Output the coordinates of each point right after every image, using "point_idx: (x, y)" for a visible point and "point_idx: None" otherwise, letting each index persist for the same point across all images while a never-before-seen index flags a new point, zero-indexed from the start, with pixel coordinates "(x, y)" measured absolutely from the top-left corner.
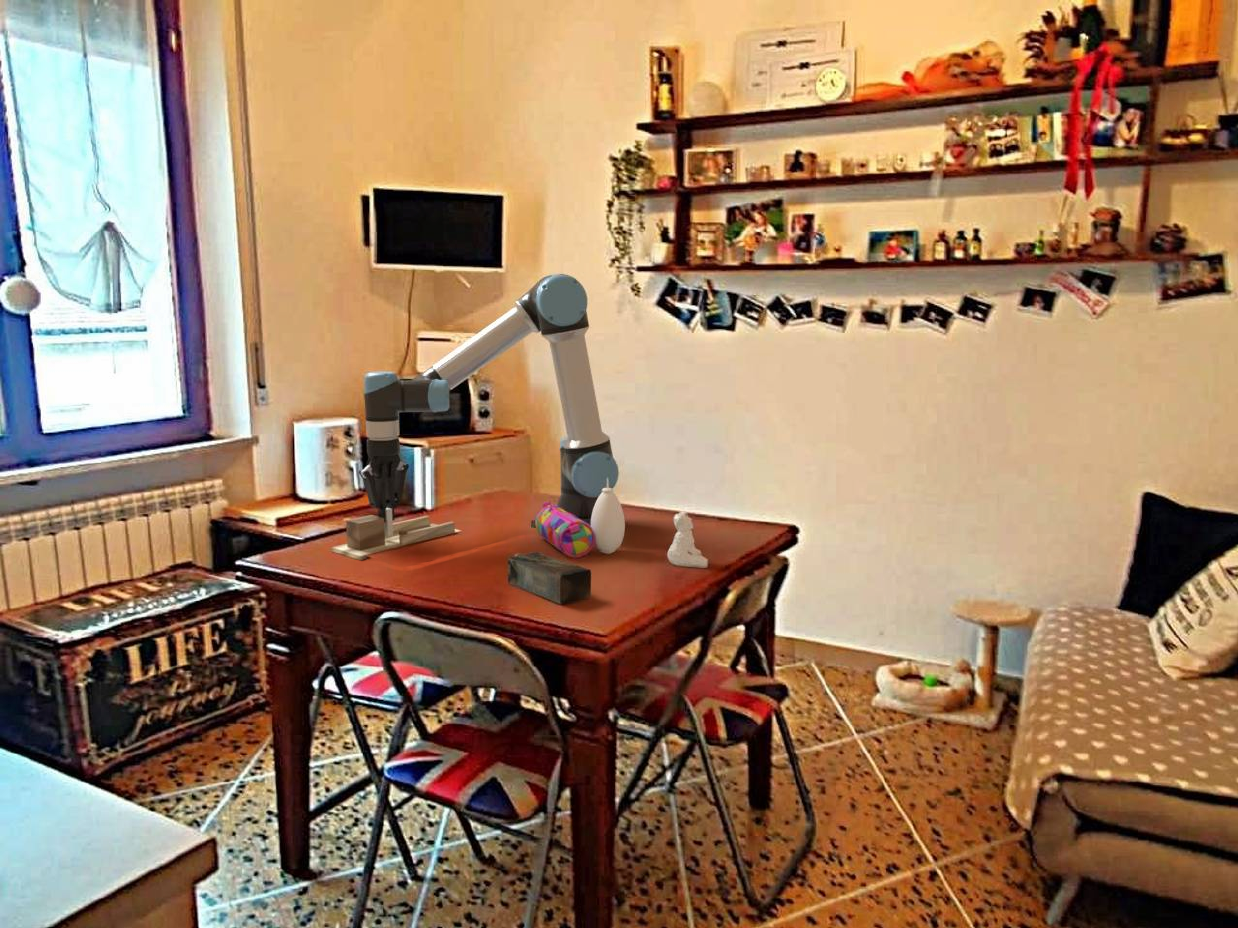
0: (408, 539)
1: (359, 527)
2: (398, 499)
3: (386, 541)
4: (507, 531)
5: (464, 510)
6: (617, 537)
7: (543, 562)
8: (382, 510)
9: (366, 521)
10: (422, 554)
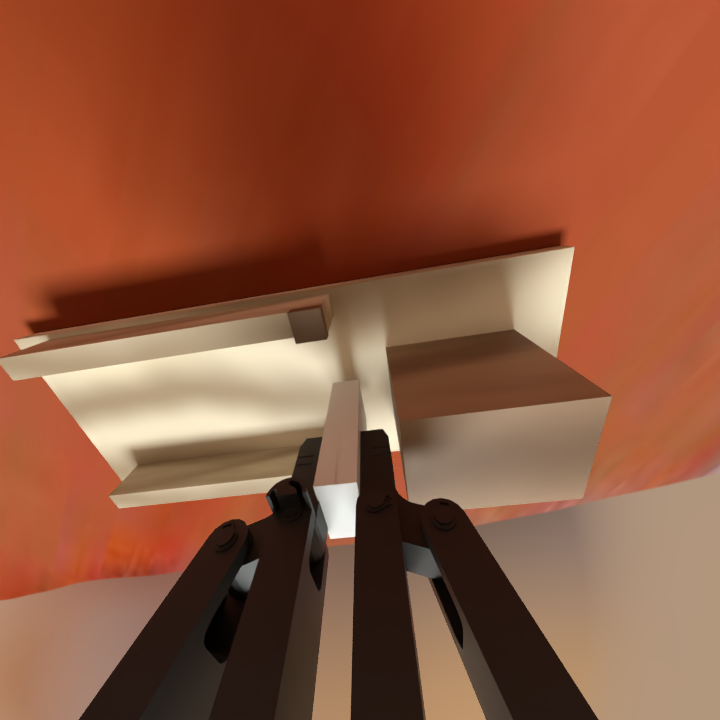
0: (291, 304)
1: (585, 381)
2: (225, 558)
3: None
4: None
5: (5, 553)
6: None
7: None
8: (385, 489)
9: (535, 412)
10: (292, 129)
